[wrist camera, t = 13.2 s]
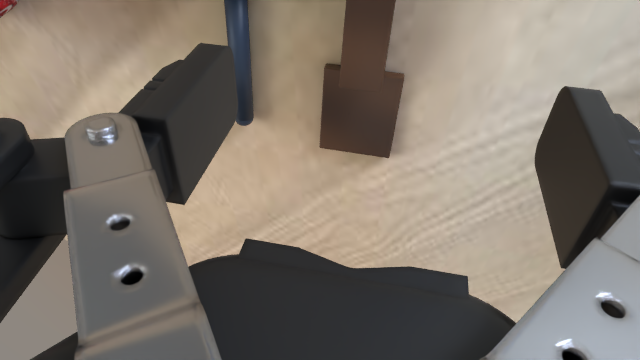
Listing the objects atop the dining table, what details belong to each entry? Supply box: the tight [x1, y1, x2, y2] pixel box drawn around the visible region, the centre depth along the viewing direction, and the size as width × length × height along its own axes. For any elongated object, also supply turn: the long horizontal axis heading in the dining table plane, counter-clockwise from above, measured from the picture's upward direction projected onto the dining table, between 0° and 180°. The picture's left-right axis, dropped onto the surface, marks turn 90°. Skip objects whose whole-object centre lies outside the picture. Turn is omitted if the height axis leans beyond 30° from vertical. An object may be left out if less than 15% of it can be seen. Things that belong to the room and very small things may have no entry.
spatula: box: [320, 0, 404, 158], centre depth 30 cm, size 20×6×3 cm, turn 177°
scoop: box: [224, 0, 254, 126], centre depth 30 cm, size 19×8×3 cm, turn 177°
